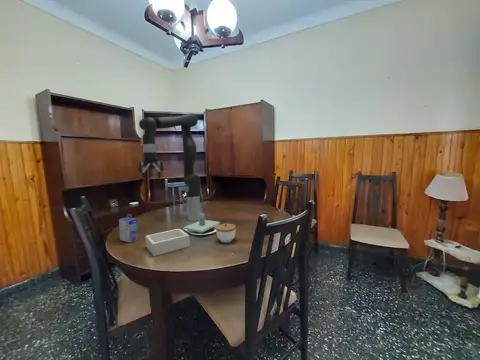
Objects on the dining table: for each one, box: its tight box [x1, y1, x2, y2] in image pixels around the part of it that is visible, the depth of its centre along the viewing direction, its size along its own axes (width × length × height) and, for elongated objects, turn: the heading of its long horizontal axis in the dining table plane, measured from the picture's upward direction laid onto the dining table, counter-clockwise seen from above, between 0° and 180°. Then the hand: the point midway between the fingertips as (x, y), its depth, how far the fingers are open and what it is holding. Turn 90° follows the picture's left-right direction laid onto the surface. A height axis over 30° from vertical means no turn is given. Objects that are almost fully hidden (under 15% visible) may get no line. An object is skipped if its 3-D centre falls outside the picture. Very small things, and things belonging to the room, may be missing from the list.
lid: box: [183, 212, 221, 234], centre depth 141 cm, size 18×14×9 cm
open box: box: [144, 228, 191, 257], centre depth 118 cm, size 18×14×6 cm
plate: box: [182, 224, 219, 237], centre depth 142 cm, size 20×20×3 cm
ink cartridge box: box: [118, 213, 139, 243], centre depth 128 cm, size 10×6×14 cm, turn 58°
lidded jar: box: [215, 223, 237, 243], centre depth 124 cm, size 11×11×9 cm
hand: (151, 178), depth 140 cm, fingers open, 8 cm apart
